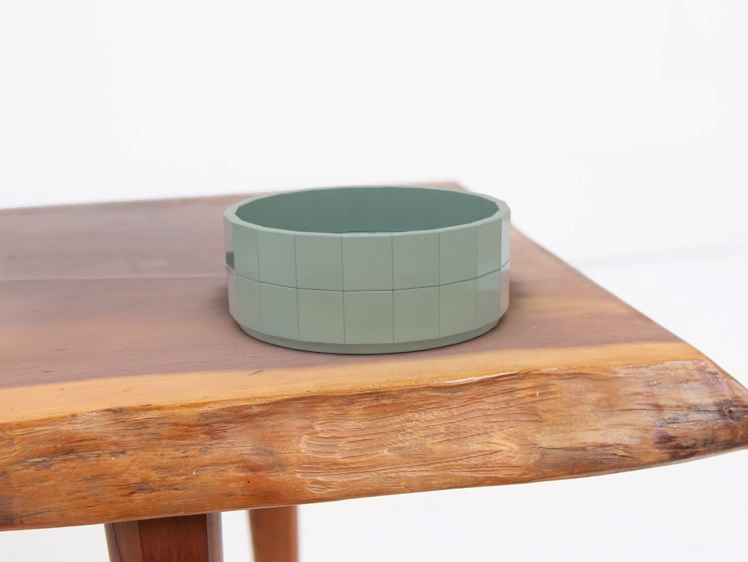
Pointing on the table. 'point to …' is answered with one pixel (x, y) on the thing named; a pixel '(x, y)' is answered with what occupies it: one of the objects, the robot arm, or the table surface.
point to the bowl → (368, 267)
